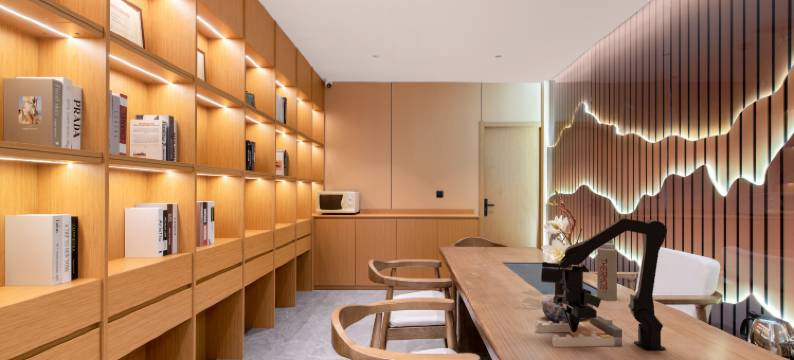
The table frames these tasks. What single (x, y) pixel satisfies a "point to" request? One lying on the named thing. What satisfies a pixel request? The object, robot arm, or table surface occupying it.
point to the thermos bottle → (607, 271)
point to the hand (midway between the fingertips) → (573, 331)
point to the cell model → (556, 310)
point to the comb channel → (601, 322)
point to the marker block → (587, 330)
